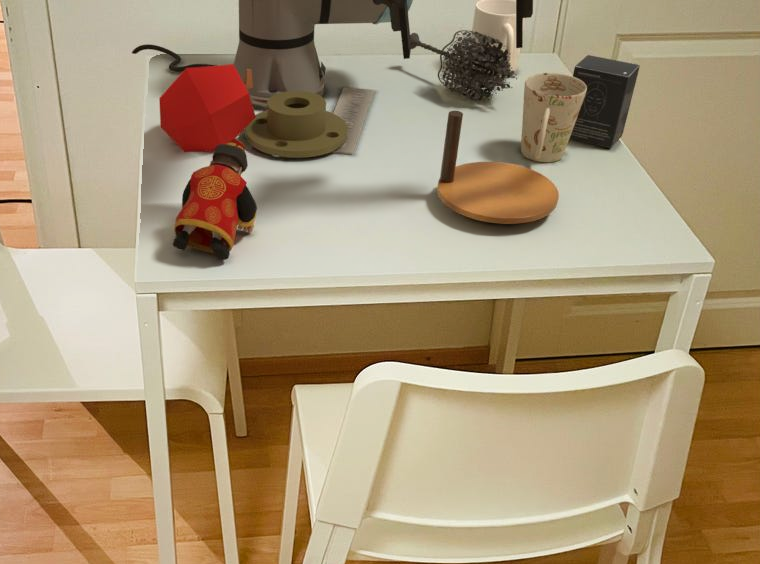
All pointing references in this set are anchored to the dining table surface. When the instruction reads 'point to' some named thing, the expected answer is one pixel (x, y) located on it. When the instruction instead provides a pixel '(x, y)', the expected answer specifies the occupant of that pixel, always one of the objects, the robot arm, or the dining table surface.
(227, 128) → the red faceted polyhedron
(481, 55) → the massage brush
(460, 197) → the wooden disc with post
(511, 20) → the cup
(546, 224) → the dining table surface
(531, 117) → the mug
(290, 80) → the robot arm
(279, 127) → the flange
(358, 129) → the nameplate
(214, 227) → the figurine
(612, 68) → the box
